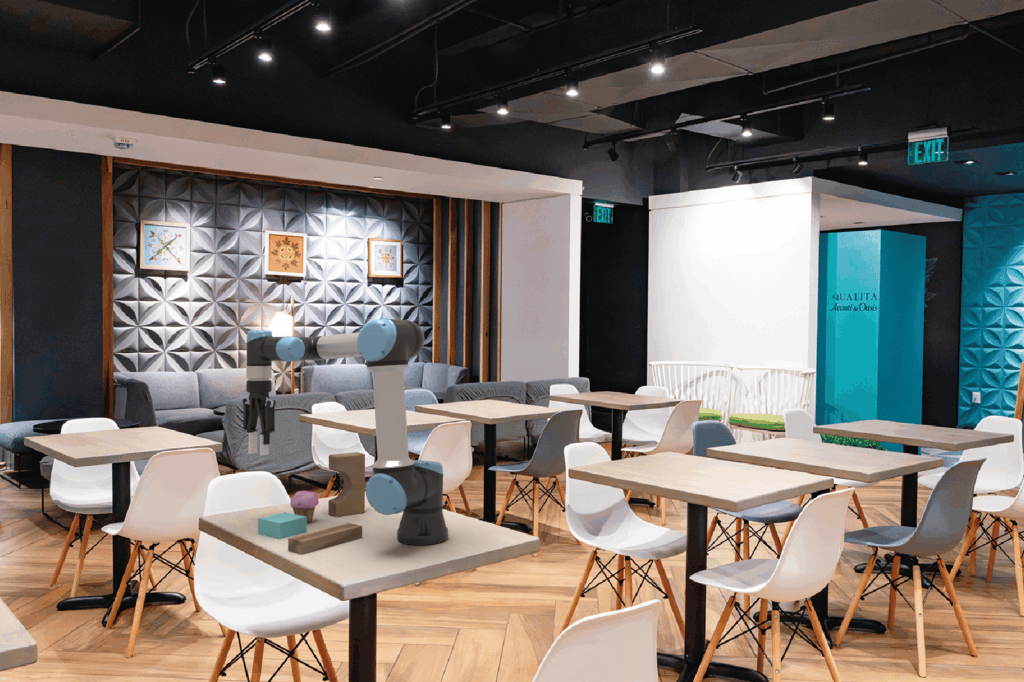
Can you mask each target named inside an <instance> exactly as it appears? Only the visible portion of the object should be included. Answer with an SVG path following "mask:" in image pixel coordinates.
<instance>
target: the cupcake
mask: <svg viewBox="0 0 1024 682" xmlns="http://www.w3.org/2000/svg"><path fill="white" fill-rule="evenodd" d="M289 503H290V507H291V508H292V510H293V514H296V515H300V516H305V517H307V524H308V523H309V522H311V521H312V520H313V519H314V514H315V509H316V506H318V505H319V503H320V502H319V497H318V495H317V493H316V492H314V491H309V490H308V491H307V490H298V491H296V492H295V494H294V495H293V496H292V497H291V500H290V502H289Z"/></svg>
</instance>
